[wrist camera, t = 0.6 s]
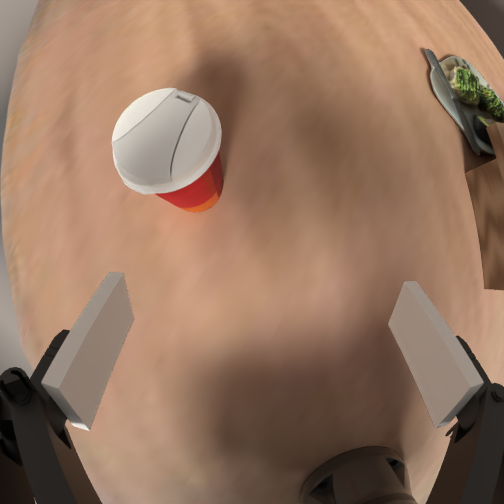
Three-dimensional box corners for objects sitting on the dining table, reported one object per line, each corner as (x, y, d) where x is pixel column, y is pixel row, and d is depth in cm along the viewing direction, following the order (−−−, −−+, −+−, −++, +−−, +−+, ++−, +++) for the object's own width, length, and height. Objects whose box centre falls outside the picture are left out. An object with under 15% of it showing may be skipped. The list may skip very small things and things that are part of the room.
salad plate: (395, 69, 32) (408, 52, 27) (444, 42, 32) (456, 29, 28) (479, 174, 31) (499, 166, 27) (512, 127, 32) (527, 118, 27)
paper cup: (187, 142, 31) (151, 69, 17) (246, 174, 31) (243, 108, 17) (149, 201, 30) (84, 159, 16) (207, 237, 30) (171, 213, 16)
